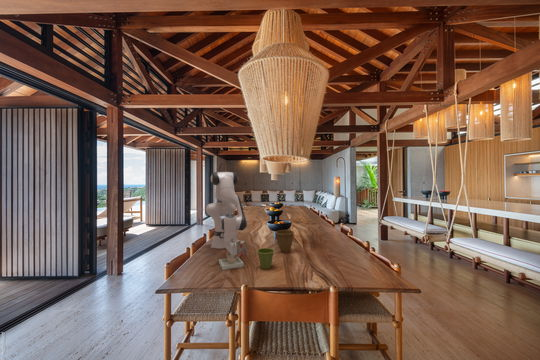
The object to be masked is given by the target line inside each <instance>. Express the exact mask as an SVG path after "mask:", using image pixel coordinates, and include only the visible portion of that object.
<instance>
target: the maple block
mask: <svg viewBox="0 0 540 360" xmlns="http://www.w3.org/2000/svg"><path fill="white" fill-rule="evenodd" d="M227 262H228V263H229V262H235V255H234V259H233V260H231V254H230V253H227Z"/></svg>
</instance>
